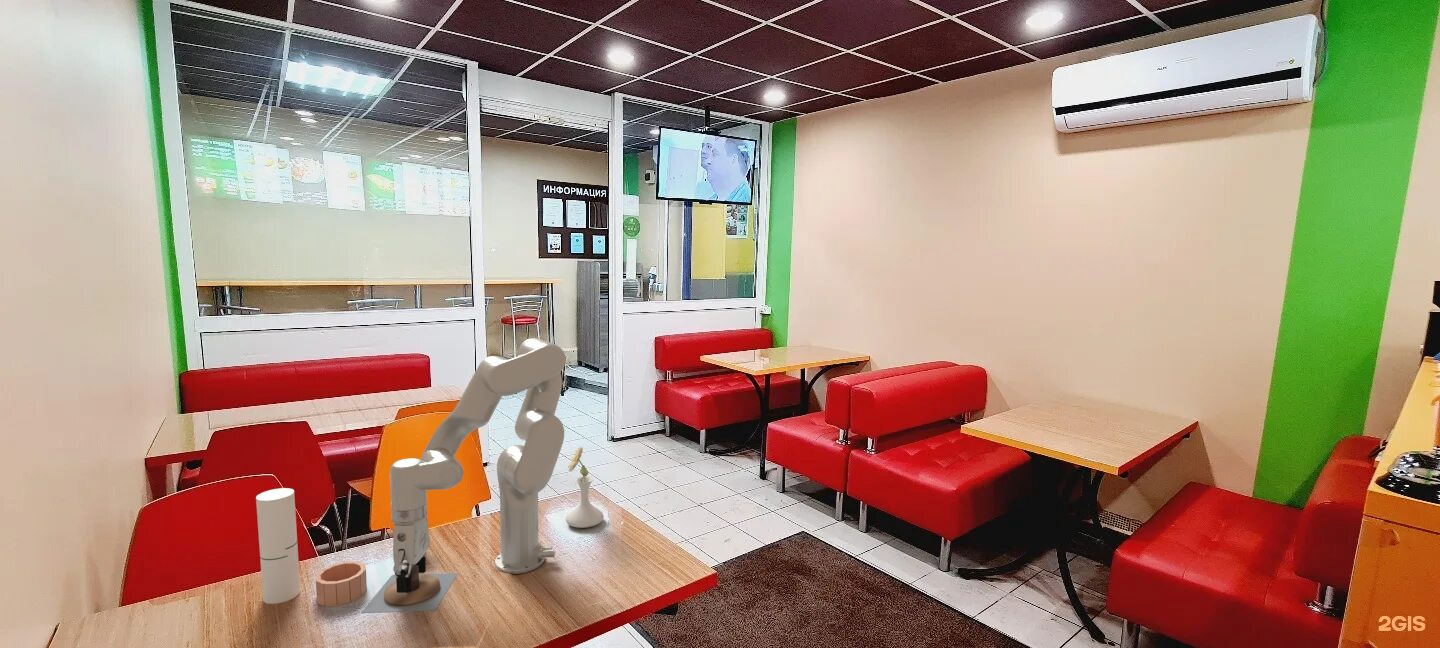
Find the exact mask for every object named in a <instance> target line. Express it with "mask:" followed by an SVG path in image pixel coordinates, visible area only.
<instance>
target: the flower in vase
mask: <svg viewBox="0 0 1440 648" xmlns="http://www.w3.org/2000/svg"><path fill="white" fill-rule="evenodd" d="M583 449H584V448H583V447H582V446H579V447H578V449H575V451H574V455H573V457H571V459H570V461H571V462H570V464H568V466H567V468H569V469H568V471H569V472H572V471H573V470H575V468H576V467H577V465H578V464H579V463H580V465H581V468H580V469H579V470H580V471H579V472H580V474H581V475H582V476H580V477H578V478H576V479H575V481H576V482H577V484H578V486H579V489H580V501H579V504H577V505H576V506H575V507H573V509H571V510H570V511H569V512H568V513H566V516H565V522H566V523H567V524H568V525H569V526H571V527H573V528H581V529H583V528H590V527H594V526H597V525H598V524H600V523H602V521H603V520H604V516H605V515H604V514H603V512H602V510H600V509H599V508H598V507H596V506H595V505H593V504H592V503H591V502H590V499H589V494H590V493H589V491H590V487H591V483H592V482H593V481H594V478H593V477H591V476H588V474H589V470H588V469H587V468H586V465H584V464H583V463H582V461H581V460H580V459H581V457H582V455H583Z"/></svg>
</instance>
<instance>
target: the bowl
mask: <svg viewBox="0 0 1440 648" xmlns="http://www.w3.org/2000/svg"><path fill="white" fill-rule="evenodd" d="M367 581H368V580H367V567H366V563H363V562H360V561H359V560H358V561H356V560H355V561H353V560H352V561H350V560H349V561H343V562H338V563H334V564H331V565H329V566H326V567H324V568H323V569H321V570H319V572H317V574H316V575H315V591H316V603H317V604H318V605H321V606H323V607H339V606H342V605H346V604H349V603H353V602H355V601H357V600H358V599H360V598H362V597H363V596H364V594H366V592H367V591H368V586H367Z"/></svg>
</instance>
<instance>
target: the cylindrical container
mask: <svg viewBox="0 0 1440 648" xmlns="http://www.w3.org/2000/svg"><path fill="white" fill-rule="evenodd" d="M255 502H256V503H255V504H256V515H257V516H256V517H257V528H258V529H257V530H258V531H257V532H258V544H259V557H260V571H261V572H260V574H261V585H262V587H261V588H262V599H263V600H262V601H263V603H265V604H267V605H276V604H278V605H279V604H281V603H282V604H283V603H286V602H289V601H290V600H292V599H293V600H294V598H296V597H297V596H298V595H299V594H300V593H301V581H300V566H299V564H300V563H299V550H298V548H299V547H298V534H297V516H296V515H297V514H296V502H295V490H294V489H293V488H288V487H287V488H286V487H284V488H283V487H280V488H274V489H270V490H266V491H263V492H261V493H259V494H257V495H256V497H255Z"/></svg>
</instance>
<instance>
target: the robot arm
mask: <svg viewBox="0 0 1440 648" xmlns="http://www.w3.org/2000/svg"><path fill="white" fill-rule="evenodd" d="M566 358H567V357H566V353H565V352H564V350H563V349H562V348H561V347H560V346H558V345H557V344H555V343H553V342H549V341H546V340H544V339H541V338H536V337H531V338H528V339H526V340H524V341H523V342H522V343H521V344H520V346H519V349H518V356H516V357H512V358H510V359H507V358H505V357H503V356H497V355H491V356H486V357H485V358H483V360H482V361H481V362H480V363H479V364H478V366H477V368H476V369H475V371H474V373H473V375H472V377H471V378H470V381H469V382H468V384H467V386H466V388H465V389H464V392H463V394H462V395H461V397H460V399H459V401H458V403H457V404H456V406H455V408H454V409H453V411H451V412H450V413H449V414H448V415H447V417H445V419H444V420H443V421H442V422H441V423H440V424H439V425H438V427H437V428H436V429H435V431H434V433H433V434H432V436H431V437H430V439H429V441H428V442H427V445H426V447H425V448H424V450H423V452H422V455H421V459H420V458H415V457H414V458H411V457H410V458H403V459H400V460H397V461H395V462H393V464H392V465H391V466H390V468H389V484H390V485H389V486H390V487H389V488H390V510H391V511H390V512H391V513H390V514H391V522H392V523H393V534H392V535H393V538H392V539H393V540H392V541H393V542H392V553H393V554H392V555H393V563H394V564H393V567H392V571H393V572H394V575H395V577H396V584H397V592H398V593H409V592H411V591H412V575H410V570H411V565H417V566H418V567H419V574H426V571H427V562H426V557H427V556H426V553H427V551H428V549H429V548H430V545H431V544H430V541H431V539H430V529H429V520H428V494H427V492H428V491H431V490H432V491H438V490H439V491H440V490H449V489H451V488H455V486H457V485H459V483H460V482H461V481H462V480H463V478H464V473H465V472H464V467H463V466H462V464H461V462H460V461H459V460H458V459H457V458H456V457H455V456H456V454H457V452H458V450H459V448H460V446H461V445H462V443H463V442H464V440H465V439H466V438H467V436H469V435H470V434H471V433H472V432H473V431H475V430H478V429H480V428H482V427H484V426H486V425H487V424H488V423H489V422H490V420H491V418H492V417H493V415H494V413H495V411H496V408H497V406H498V405H499V403H500V401H501V400H502V397H507V396H512V395H516V394H519V393H521V392H523V391H526V393H525V397H524V400H523V401H522V404H521V407H520V410H519V412H518V415H517V418H516V421H515V424H514V432H515V433H516V436H517V437H518V438H519V440H521V441H522V442H523V443H524V445H522V444H514V445H510V446H507V447H506V448H504V449H503V450H502V452H501V453H500V455H499V456H498V458H497V463H496V474H497V475H496V476H497V482H498V491H499V519H500V521H499V522H500V523H499V524H500V529H499V530H500V533H499V534H500V553H499V554H498V555H497V557H496V558H495V559H494V567H495V568H496V569H497V570H499V571H500V572H503V573H508V574H510V575H516V574H518V575H519V574H525V573H529V572H532V571H534V570H536V569H537V568H540V566H542V564H543V563H544V562H545V560H546V559H545V558H555V557H556V549H553V546H550V545H548V546H544V545H542V540H539V493H540V492H541V491H542V490H543V489H545V487H546V486H547V485H548V483H549V482H550V479H551V477H552V475H553V473H554V470H555V467H556V464H557V461H558V459H559V455H560V453H561V450H562V448H563V447H562V446H563V444H564V439H565V427H564V424H563V422H562V421H561V419H560V418H559V417H557V416H556V415H555V413H556V412H557V411H556V410H557V407H558V405H559V404H558V403H559V400H560V396H561V393H562V388H563V378H562V373H561V372H562V371H563V369H564V368H565V365H566V363H567V362H566V361H567V360H566ZM404 561H406V562H404ZM403 566H404V567H407V569H406V571H405V568H404V569H403Z"/></svg>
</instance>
